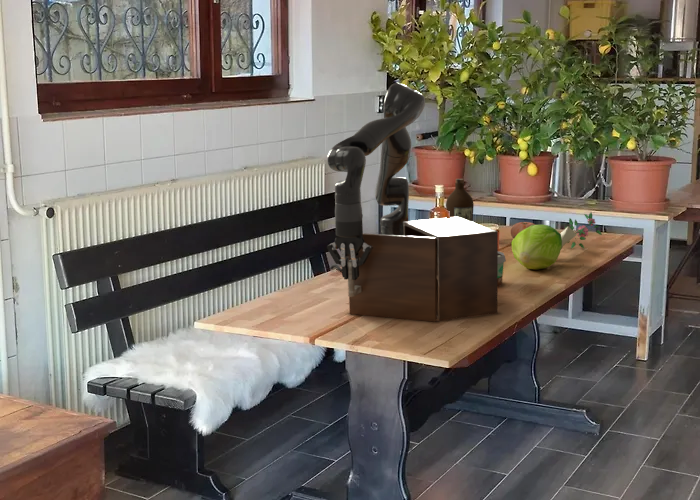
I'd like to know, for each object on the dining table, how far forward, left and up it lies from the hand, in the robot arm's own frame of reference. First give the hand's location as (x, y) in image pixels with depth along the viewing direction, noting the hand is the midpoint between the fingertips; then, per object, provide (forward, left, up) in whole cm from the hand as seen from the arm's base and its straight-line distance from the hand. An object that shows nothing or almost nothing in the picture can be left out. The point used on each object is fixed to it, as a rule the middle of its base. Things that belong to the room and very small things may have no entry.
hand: (350, 278), depth 262 cm
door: (+10, +4, -12) cm, 16 cm away
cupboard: (+20, +24, -12) cm, 33 cm away
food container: (+25, +53, -12) cm, 60 cm away
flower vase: (+35, +108, -12) cm, 114 cm away
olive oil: (-8, +111, -12) cm, 111 cm away
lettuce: (+31, +78, -12) cm, 85 cm away
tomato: (+15, +121, -12) cm, 122 cm away
